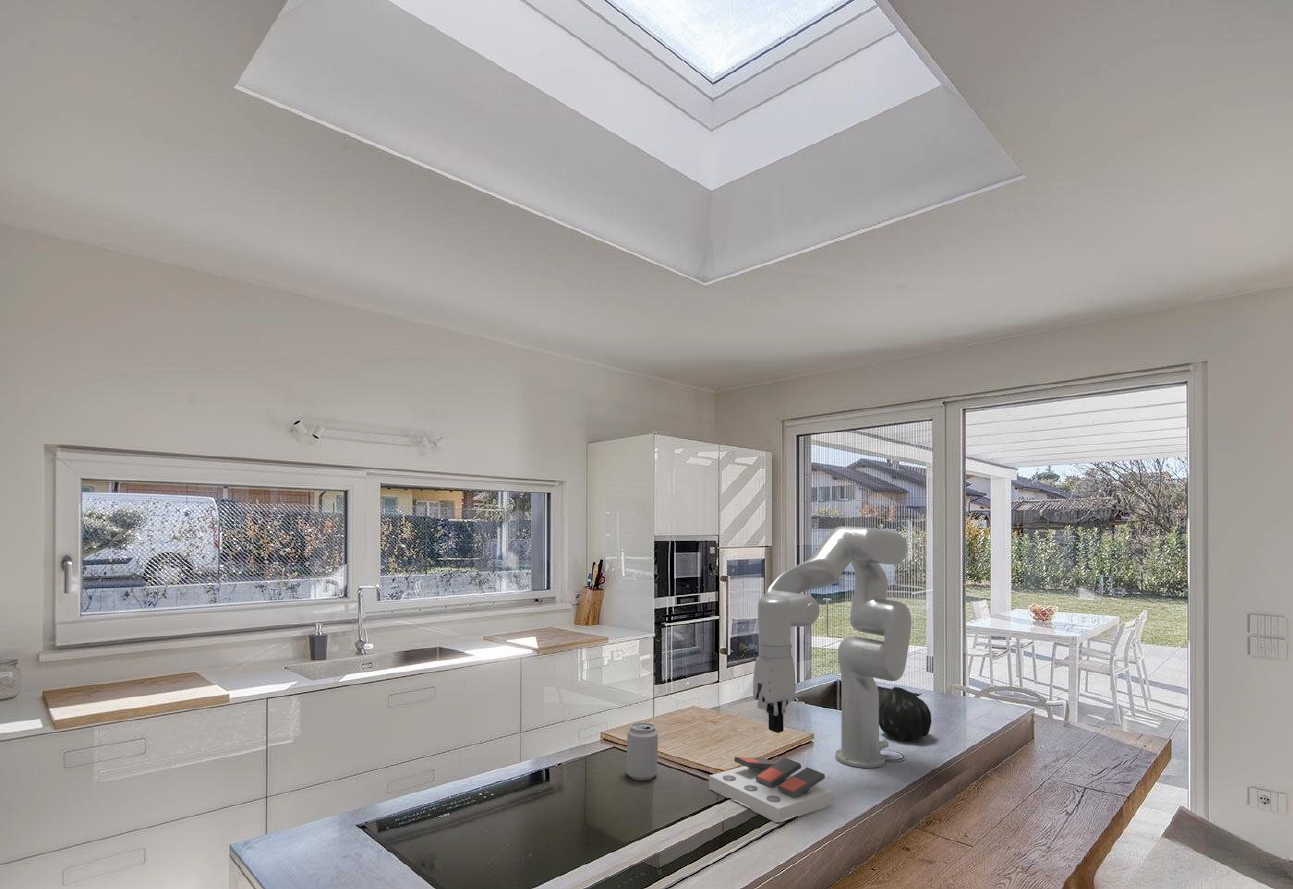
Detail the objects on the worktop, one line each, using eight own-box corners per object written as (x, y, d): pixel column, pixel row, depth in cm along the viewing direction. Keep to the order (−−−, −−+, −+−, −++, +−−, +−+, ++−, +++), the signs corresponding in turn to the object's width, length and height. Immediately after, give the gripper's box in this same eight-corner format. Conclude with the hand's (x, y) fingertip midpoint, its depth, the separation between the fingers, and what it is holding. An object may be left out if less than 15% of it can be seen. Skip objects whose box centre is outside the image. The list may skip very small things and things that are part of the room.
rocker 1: (763, 762, 180) (764, 757, 180) (778, 768, 175) (779, 763, 176) (734, 761, 174) (734, 756, 174) (748, 767, 170) (749, 762, 170)
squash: (948, 719, 212) (913, 674, 219) (929, 733, 201) (893, 685, 208) (913, 744, 219) (880, 699, 226) (892, 758, 207) (858, 711, 214)
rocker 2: (807, 771, 169) (807, 766, 168) (825, 778, 164) (824, 773, 164) (778, 789, 163) (777, 784, 163) (795, 797, 159) (794, 792, 159)
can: (653, 782, 174) (655, 731, 174) (623, 779, 175) (624, 728, 176) (659, 771, 181) (660, 721, 182) (630, 768, 182) (631, 719, 183)
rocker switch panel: (760, 773, 181) (761, 757, 181) (831, 805, 163) (831, 787, 163) (708, 788, 171) (709, 771, 171) (778, 823, 153) (778, 804, 153)
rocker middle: (785, 761, 174) (784, 756, 174) (801, 767, 170) (800, 763, 170) (755, 780, 168) (755, 775, 168) (771, 787, 164) (770, 782, 164)
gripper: (785, 643, 178) (786, 720, 178) (740, 652, 170) (741, 733, 169) (808, 649, 172) (810, 728, 171) (763, 658, 163) (764, 742, 163)
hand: (776, 730), depth 170 cm, fingers closed
